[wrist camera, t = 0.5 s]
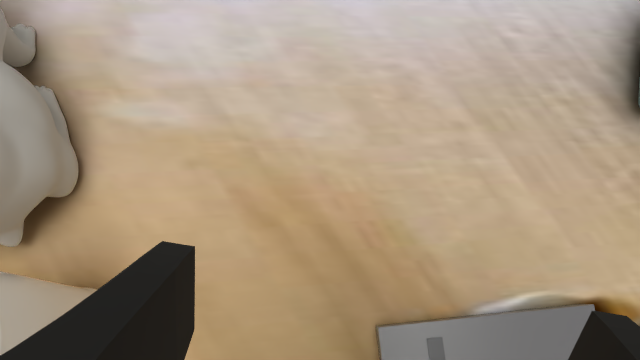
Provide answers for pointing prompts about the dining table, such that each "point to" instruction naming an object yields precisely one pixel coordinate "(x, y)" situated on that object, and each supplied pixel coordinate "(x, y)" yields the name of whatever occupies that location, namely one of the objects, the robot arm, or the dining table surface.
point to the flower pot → (639, 94)
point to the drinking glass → (32, 306)
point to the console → (487, 336)
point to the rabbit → (28, 137)
